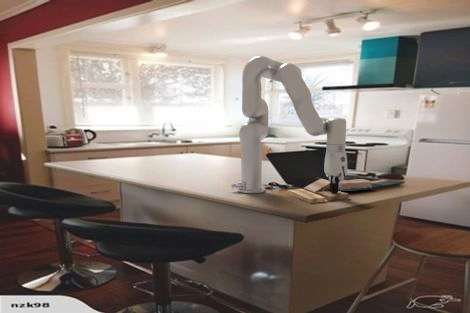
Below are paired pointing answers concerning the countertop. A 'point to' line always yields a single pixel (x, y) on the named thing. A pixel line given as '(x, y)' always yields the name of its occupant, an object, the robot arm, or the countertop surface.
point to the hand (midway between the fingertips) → (333, 192)
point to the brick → (354, 184)
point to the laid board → (306, 196)
